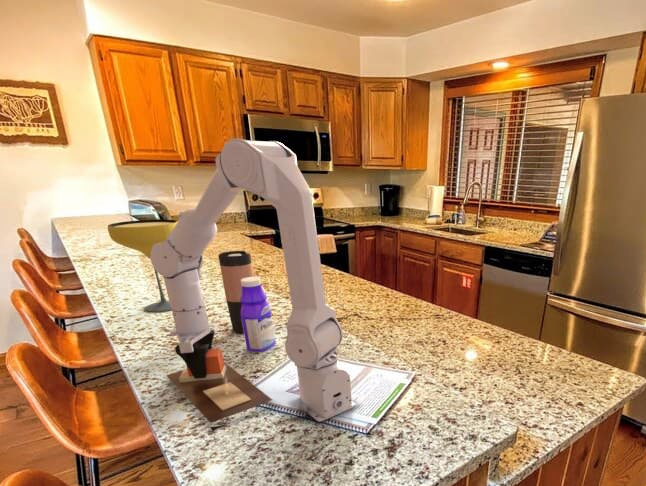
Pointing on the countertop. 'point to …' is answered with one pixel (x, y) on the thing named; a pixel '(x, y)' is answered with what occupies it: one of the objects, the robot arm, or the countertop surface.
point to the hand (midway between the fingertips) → (203, 371)
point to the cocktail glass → (144, 244)
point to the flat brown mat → (221, 394)
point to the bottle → (256, 316)
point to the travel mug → (235, 282)
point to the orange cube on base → (208, 367)
